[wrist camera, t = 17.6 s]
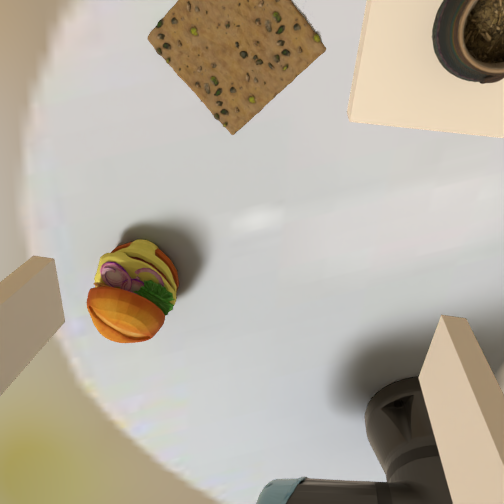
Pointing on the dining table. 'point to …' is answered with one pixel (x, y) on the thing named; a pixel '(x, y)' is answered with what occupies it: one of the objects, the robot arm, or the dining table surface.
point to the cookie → (236, 52)
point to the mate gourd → (470, 39)
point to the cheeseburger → (132, 292)
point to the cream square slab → (416, 76)
